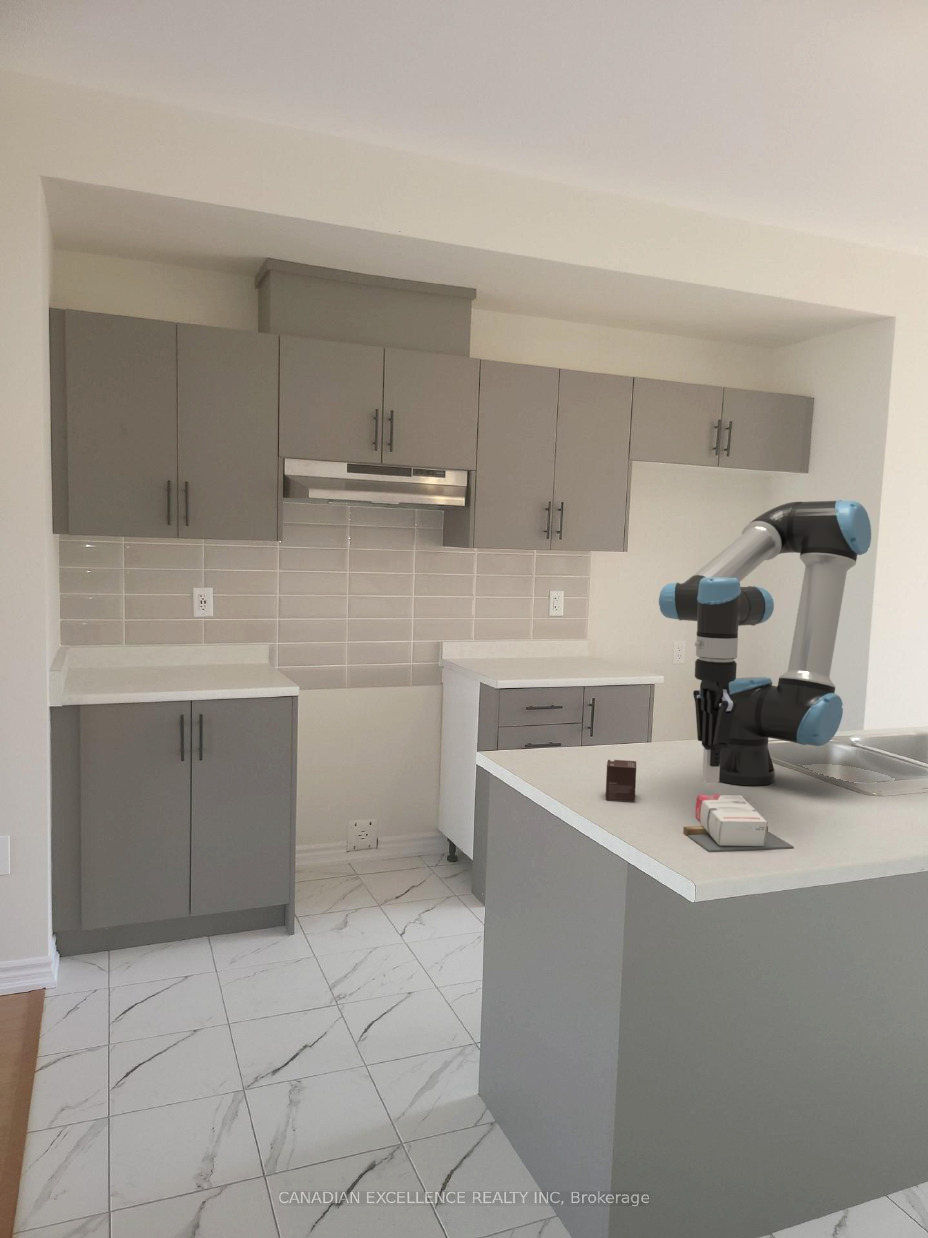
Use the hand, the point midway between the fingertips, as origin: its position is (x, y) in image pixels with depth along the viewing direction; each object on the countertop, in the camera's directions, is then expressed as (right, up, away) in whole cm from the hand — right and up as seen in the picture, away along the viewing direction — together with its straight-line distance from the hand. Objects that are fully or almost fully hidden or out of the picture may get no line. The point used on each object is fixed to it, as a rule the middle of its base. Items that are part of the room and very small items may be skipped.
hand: (710, 781), depth 166 cm
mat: (+2, -9, -12) cm, 15 cm away
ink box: (0, -4, -4) cm, 6 cm away
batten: (+1, -8, -7) cm, 11 cm away
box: (-15, -6, +15) cm, 22 cm away
